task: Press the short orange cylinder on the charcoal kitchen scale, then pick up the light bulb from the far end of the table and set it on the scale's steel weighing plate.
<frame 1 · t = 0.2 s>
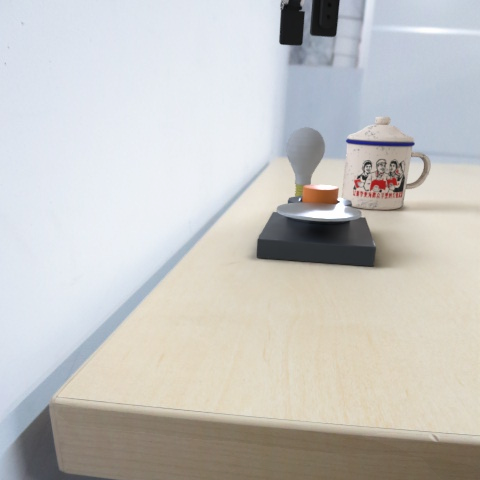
hand: (305, 40, 62), 20 cm above the table, tool pointing down, fingers open, 9 cm apart
short orange cylinder: (320, 195, 51), point 4 cm above the table, slide at 0.1 cm
scale: (315, 244, 48), on the table
weigh plate: (318, 212, 45), resting on scale
light bulb: (301, 201, 72), on the table
teacup with lid: (381, 206, 71), on the table
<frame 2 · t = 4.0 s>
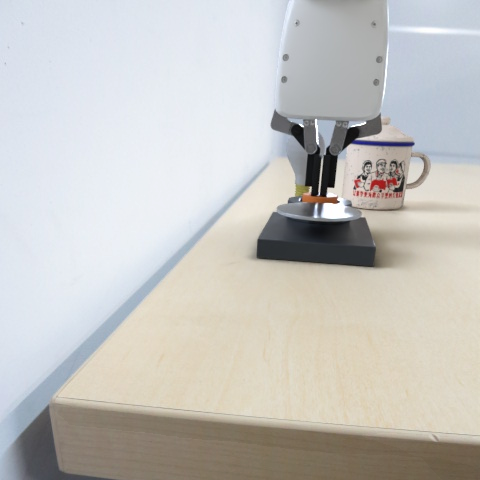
hand: (318, 194, 51), 4 cm above the table, tool pointing down, fingers closed
short orange cylinder: (319, 203, 51), point 3 cm above the table, slide at -0.7 cm, touching gripper
everything else where it was.
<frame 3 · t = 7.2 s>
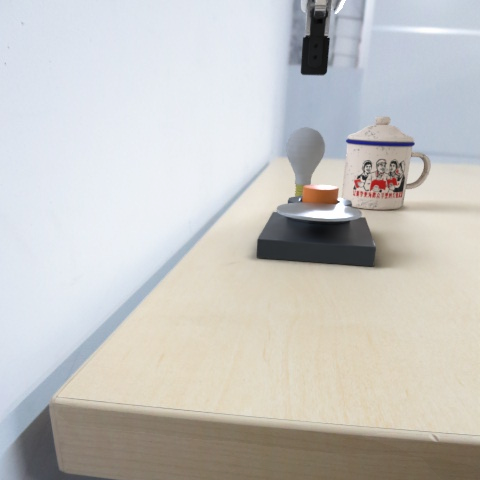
hand: (313, 74, 62), 16 cm above the table, tool pointing down, fingers closed
short orange cylinder: (320, 195, 51), point 4 cm above the table, slide at 0.1 cm
everything else where it was.
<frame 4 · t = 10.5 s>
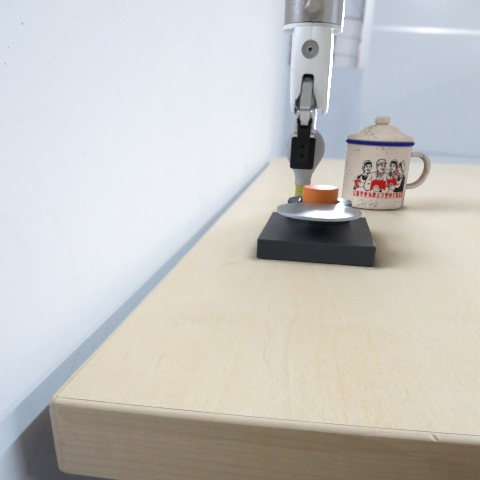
hand: (302, 165, 70), 5 cm above the table, tool pointing down, fingers closed on light bulb, 5 cm apart
light bulb: (301, 201, 72), on the table, touching gripper
everything else where it was.
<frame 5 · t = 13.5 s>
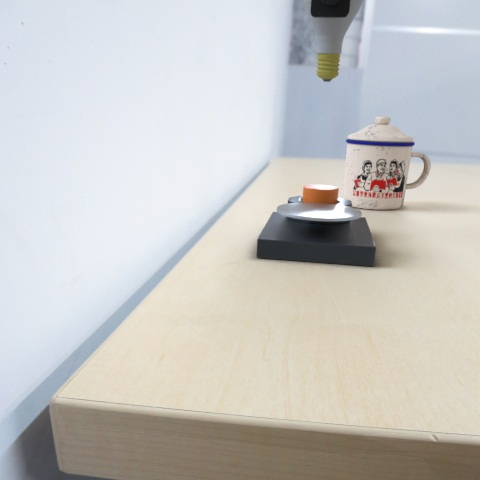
hand: (329, 20, 44), 19 cm above the table, tool pointing down, fingers closed on light bulb, 5 cm apart
light bulb: (326, 84, 47), point 14 cm above the table, touching gripper
everything else where it was.
when the fingers open (9 cm above the table, at t = 16.9 s): light bulb stays where it is, resting on weigh plate.
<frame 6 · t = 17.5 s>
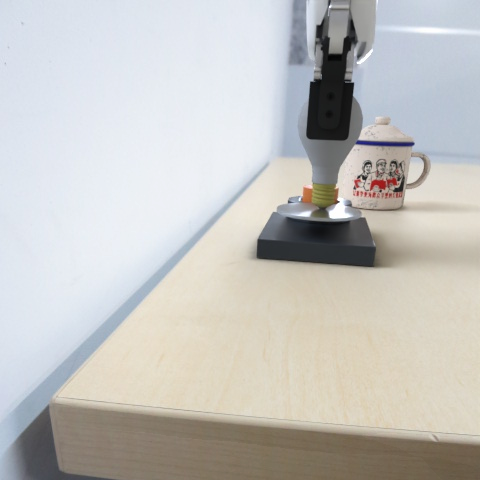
hand: (325, 136, 42), 10 cm above the table, tool pointing down, fingers open, 9 cm apart
light bulb: (321, 210, 45), point 4 cm above the table, touching weigh plate
everything else where it was.
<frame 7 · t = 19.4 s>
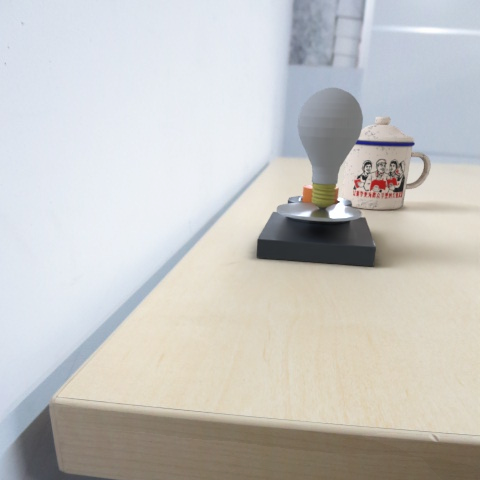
nothing on the table moved.
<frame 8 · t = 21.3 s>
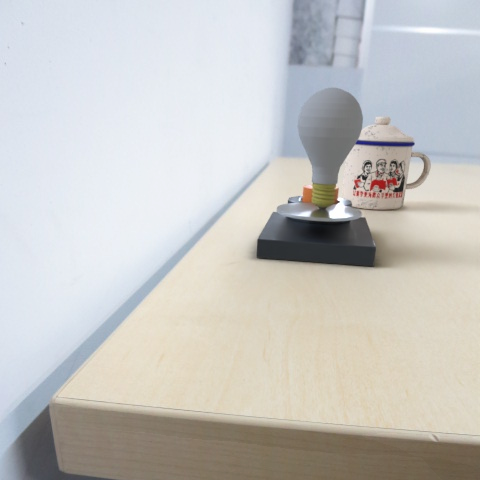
nothing on the table moved.
at the end: short orange cylinder pushed in 1.1 cm at the most during the clip, back to where it started at the end; light bulb 0.6 cm from the target spot on the scale, point 3.6 cm above the scale's base; light bulb tilted 0° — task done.
